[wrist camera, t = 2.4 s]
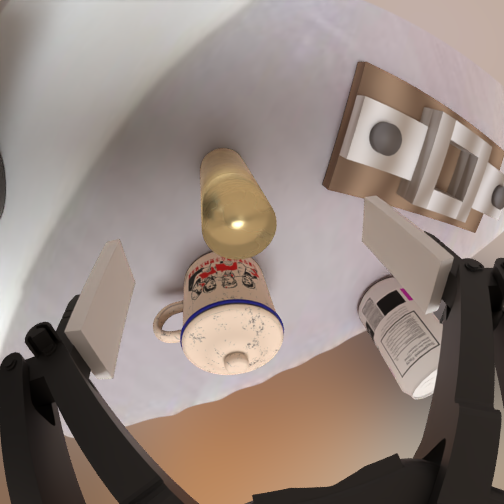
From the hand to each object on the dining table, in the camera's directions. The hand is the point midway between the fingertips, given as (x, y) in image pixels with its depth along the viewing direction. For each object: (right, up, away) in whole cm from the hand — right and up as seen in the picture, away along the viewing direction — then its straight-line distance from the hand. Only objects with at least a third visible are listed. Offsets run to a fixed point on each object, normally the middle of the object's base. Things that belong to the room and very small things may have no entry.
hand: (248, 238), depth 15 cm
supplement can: (+18, -7, +23) cm, 30 cm away
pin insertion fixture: (+21, +10, +13) cm, 27 cm away
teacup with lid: (-4, -4, +17) cm, 18 cm away
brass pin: (-2, +7, +11) cm, 13 cm away
